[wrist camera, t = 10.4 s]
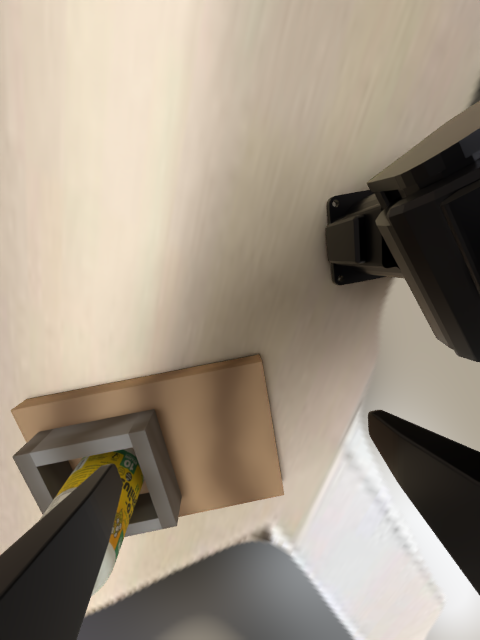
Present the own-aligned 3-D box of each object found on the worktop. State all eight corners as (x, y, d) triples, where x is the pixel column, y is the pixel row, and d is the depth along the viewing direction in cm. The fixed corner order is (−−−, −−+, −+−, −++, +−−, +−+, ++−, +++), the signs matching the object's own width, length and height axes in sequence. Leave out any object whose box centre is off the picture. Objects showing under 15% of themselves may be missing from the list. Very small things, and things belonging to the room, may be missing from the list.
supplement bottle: (76, 442, 20) (-54, 607, 10) (142, 436, 20) (73, 591, 11) (90, 493, 21) (-14, 679, 12) (152, 487, 21) (97, 663, 12)
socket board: (259, 354, 20) (267, 376, 17) (280, 480, 24) (291, 522, 20) (25, 399, 20) (-22, 433, 16) (83, 521, 24) (55, 573, 20)
